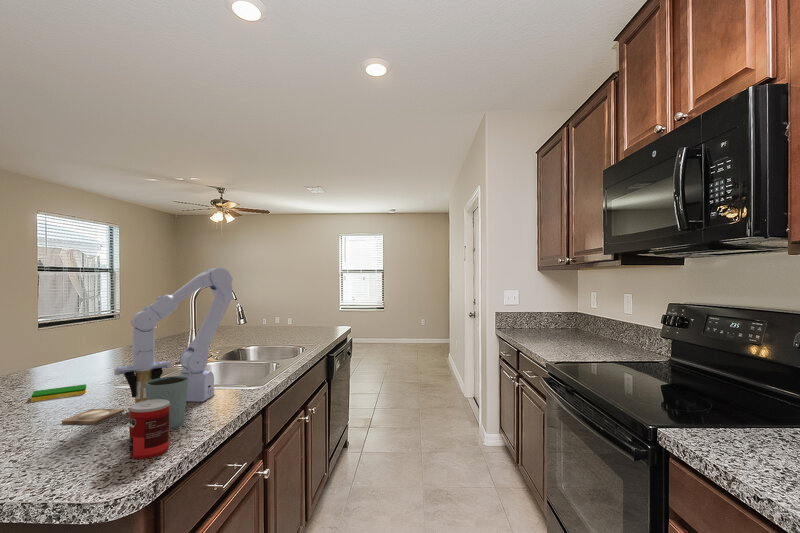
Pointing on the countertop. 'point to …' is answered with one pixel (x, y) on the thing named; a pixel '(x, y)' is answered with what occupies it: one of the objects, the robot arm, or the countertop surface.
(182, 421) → the grey-green tapered cup
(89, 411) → the spice coaster
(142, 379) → the spice jar
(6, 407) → the countertop surface
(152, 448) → the canned food
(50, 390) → the dish sponge
